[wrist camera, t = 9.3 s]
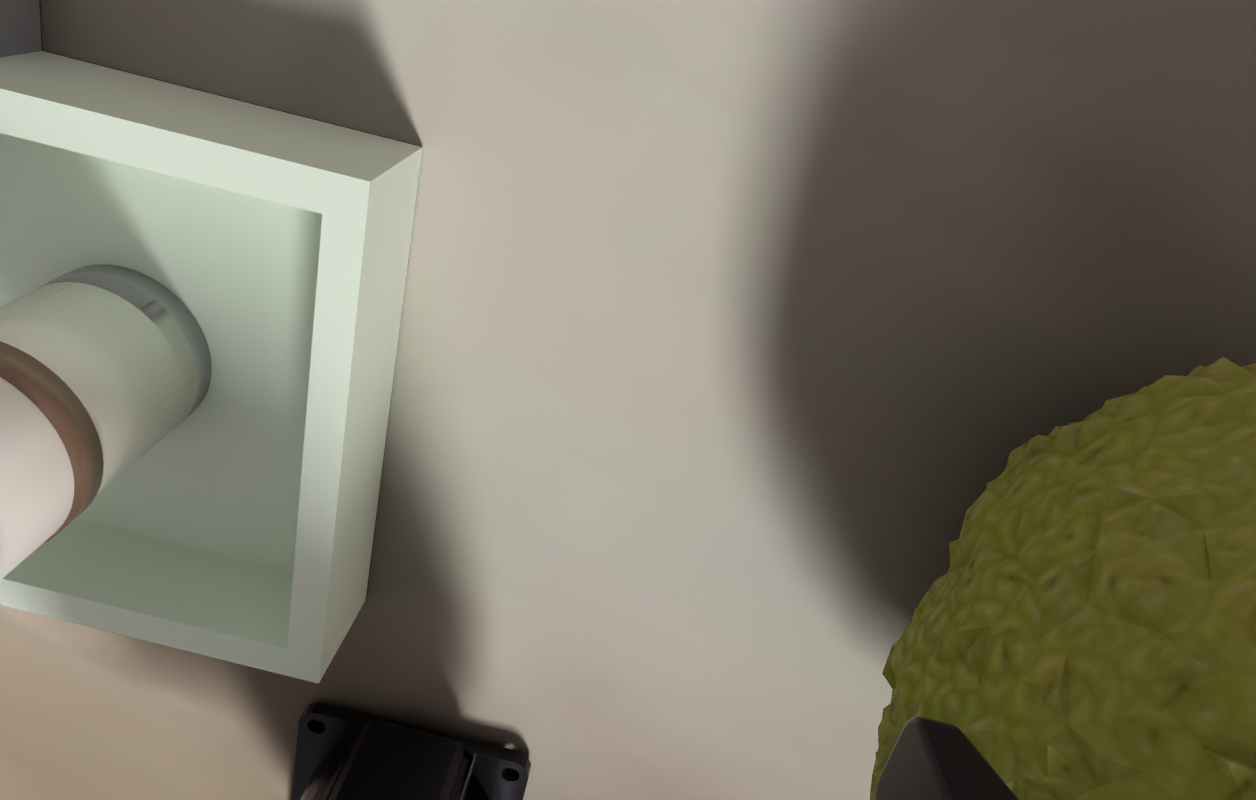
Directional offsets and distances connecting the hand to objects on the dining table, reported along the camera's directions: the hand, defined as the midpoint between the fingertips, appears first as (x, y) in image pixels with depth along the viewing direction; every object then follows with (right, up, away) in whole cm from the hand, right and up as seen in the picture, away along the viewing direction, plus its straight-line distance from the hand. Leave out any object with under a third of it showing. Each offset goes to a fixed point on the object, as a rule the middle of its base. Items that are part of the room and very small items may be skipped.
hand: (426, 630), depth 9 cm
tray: (-10, +4, +13) cm, 17 cm away
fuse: (-10, +3, +13) cm, 16 cm away
